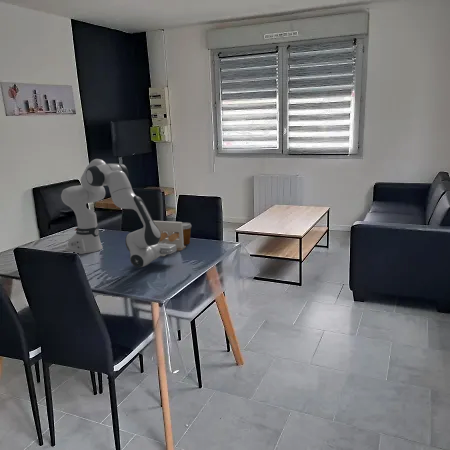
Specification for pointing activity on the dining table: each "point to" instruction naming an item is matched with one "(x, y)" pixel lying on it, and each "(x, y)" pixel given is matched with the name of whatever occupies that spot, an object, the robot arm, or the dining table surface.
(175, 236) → the button right
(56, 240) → the dining table surface
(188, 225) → the disposable coffee cup
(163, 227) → the panel
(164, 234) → the button middle
